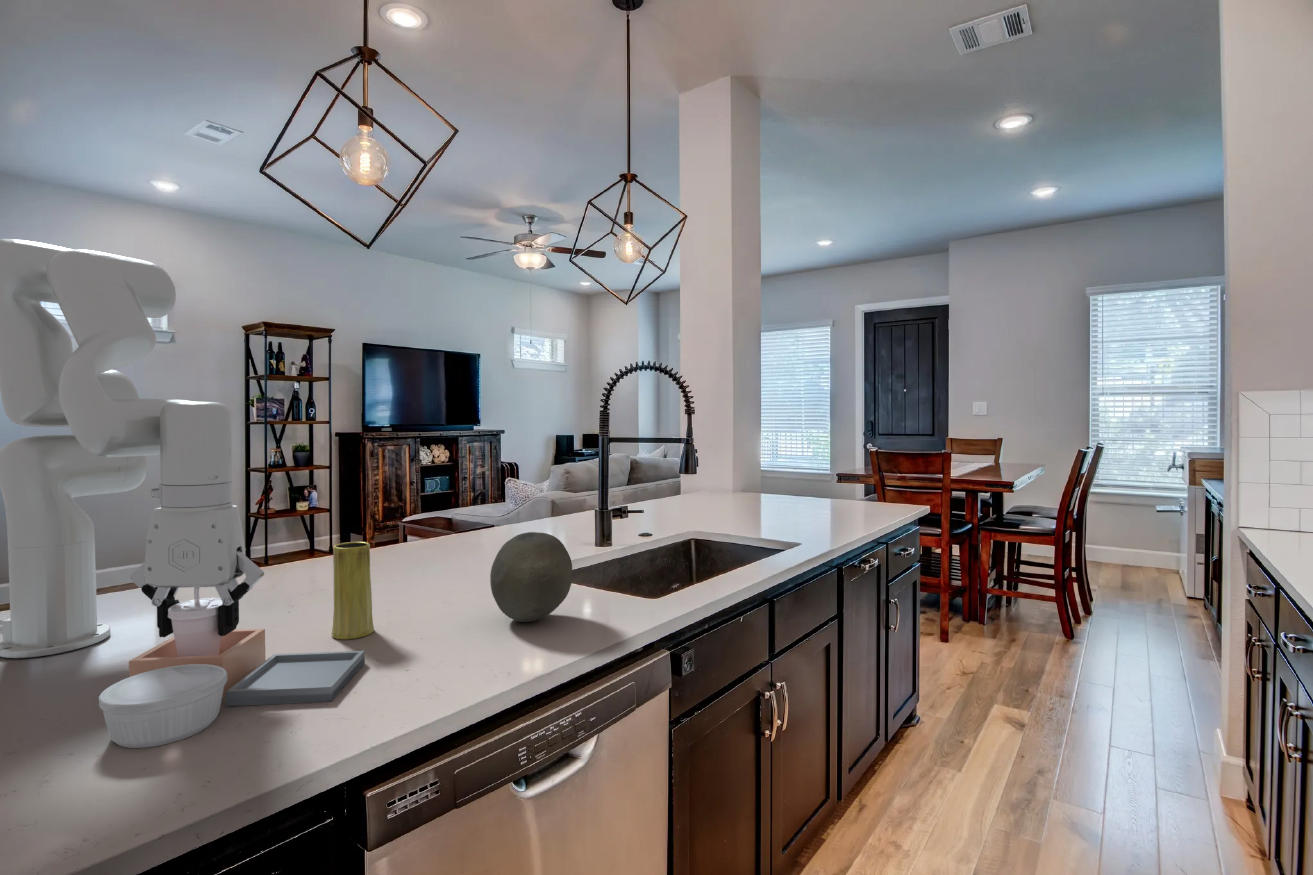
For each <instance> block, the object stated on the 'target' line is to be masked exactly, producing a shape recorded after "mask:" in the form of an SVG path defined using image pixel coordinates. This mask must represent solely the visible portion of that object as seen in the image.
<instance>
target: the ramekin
mask: <svg viewBox="0 0 1313 875" xmlns="http://www.w3.org/2000/svg"><path fill="white" fill-rule="evenodd" d="M226 682H227V671H226V670H225V669H224V668H222V667H219V666H215V665H208V664H188V665H179V666H171V667H165V668H160V669H156V670H151V671H147V672H144V673H140V674H137V675H134V676H131V677H129V676H128V677H127V678H124V679H121V680H120V681H117V682H115V683H113V684H112V685H110V686H108V687H107V688H106V689H104V690H102V692H101V693H100V695H99V696H98V706H99V708H100V710H102V713H103V717H104V721H105V725H106V729H107V732H108V735H109V738H110V739H111V740H112V742H114V743H116V745H118V746H119V747H125V748H130V749H141V748H152V747H159V746H164V745H168V744H171V743H175V742H178V741H181V740H184V739H186V738H189V737H190V738H191V737H192V736H194V735H196V734H198V733H200V732H202V731H203V730H205V729H207V728H208V727H209V726H211V724H212V723H213V722H214V721H215V719H217V718H218V715H219V712H220V710H221V704H222V699H223V697H222V695H223V689H224V685H225V684H226Z"/></svg>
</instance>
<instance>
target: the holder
mask: <svg viewBox="0 0 1313 875" xmlns="http://www.w3.org/2000/svg"><path fill="white" fill-rule="evenodd" d="M266 660H267V658H266V628H251V629H250V628H245V629H244V628H243V629H242V628H241V629H235V630H233V631H232V632H230V633H229V634H227V635H225V636H221V643H220V651H219V655H210V656H184V657H178V656H177V650H176V644H175V639H174V636H172V637H171V638H168V639H167V640H165V641H162V642H161V643H159V644H157V645H156V646H154V647H152V648H150V649H148V650H146V651H145V652H143V653H141V654H140V655H137V656H136V657H133V658H132V659H129V661H128V668H129V670H128V671H129V672H128V673H129V674H128V677H131V676H134V675H137V674H140V673H144V672H147V671H151V670H156V669H160V668H165V667H171V666H179V665H188V664H208V665H215V666H219V667H222V668H224V669H225V670H226V671H227V682H226V684H225V685H224V689H223V695H222V698H225V697H226V691H227V690H229V689H230V688H231V687H232V686H234V685H235V684H236V683H238V682H239V681H240V680H241V679H243V678H244V677H245V676H247V675H248V674H249V673H250V672H252V671H253V670H254V669H255V668H257V667H258V666H259V665H261V664H262V663H263V662H264V661H266Z"/></svg>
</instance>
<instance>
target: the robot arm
mask: <svg viewBox="0 0 1313 875" xmlns="http://www.w3.org/2000/svg"><path fill="white" fill-rule="evenodd" d="M176 298H177V291H176V287H175V284H174V281H173V280H172V278H171V276H170V275H169V274H168V272H167V271H166V270H165V269H164V268H163V267H161V266H160V265H158V264H156V263H154V262H150V261H147V260H143V259H137V258H133V257H128V256H123V255H117V254H112V253H107V252H103V251H102V252H101V251H98V250H96V251H95V250H90V249H72V248H66V247H63V246H57V245H53V244H48V243H44V242H37V241H30V240H24V239H13V238H0V398H1V402H2V406H3V410H4V412H5V415H6V416H7V418H8V419H9V420H10V422H13V423H14V424H17V425H19V426H24V427H33V428H70V430H71V432H72V434H51V435H49V434H48V435H35V436H34V435H33V436H28V437H27V436H25V437H22V438H18V439H15V440H13V441H10V442H9V443H7V444H5V445H4V446H3V447H2V448H1V449H0V491H1V495H2V499H3V500H2V501H3V504H4V510H5V517H6V530H7V553H8V554H7V556H8V557H7V558H8V580H9V581H8V584H9V613H10V614H9V615H10V617H0V634H1V635H2V641H0V658H7V659H26V658H27V659H28V658H38V657H44V656H51V655H57V654H62V653H67V652H70V651H75V650H79V649H83V648H85V647H89V646H91V645H95V644H97V643H100V642H101V641H104V640H105V639H107V638H108V637H109V636H110V635H111V632H112V631H111V626H110V625H108V624H106V623H102V622H101V623H100V622H98V610H97V609H98V607H97V606H98V605H97V575H96V574H97V572H96V571H97V570H96V565H97V564H96V538H95V537H96V536H95V534H96V533H95V525H94V522H93V521H92V518H91V517H90V515H89V514H88V513H86V512H85V510H83V509H82V507H80V506H79V505H78V503H77V502H75V500H74V498H78V497H85V496H96V495H97V496H98V495H106V494H115V493H117V494H118V493H123V492H129V491H132V490H135V489H136V488H138V487H139V486H141V484H142V483H144V481H145V479H146V476H147V473H148V472H147V471H148V456H159V458H160V461H159V462H160V465H159V467H160V468H159V469H160V470H159V471H160V472H159V473H160V474H159V475H160V484H159V485H158V487H152V488H151V490H150V497H151V498H153V499H159V504H160V507H157V508H154V509H153V510H152V514H151V517H150V521H149V525H148V529H147V530H148V531H147V534H146V535H147V537H146V543H145V544H146V545H145V554H144V555H145V556H144V562H143V563H141V565H140V566H139V567H138V568H137V569H135V570H134V571H133V572H132V573H131V574H130V575H129V580H130V581H132V583H133V584H135V585H136V586H137V587H138V588H140V589H141V592H142V594H144V595H145V596H146V597H147V598H149V600H151V602H150V603H151V605H152V606H153V607H156V626H157V629H158V636H159V638H166V637H168V636H169V635H172V634H174V633H173V627H172V621H171V619H170V618H168V609H169V608H170V607H171V606H173V605H175V604H178V603H181V602H180V601H179V600H180V599H176V595H177V594H178V591H179V589H180V588H194V587H199V588H213V587H214V588H215V590H216V592H217V594H218V596H219V598H221V600H222V605H220V606H219V607H218V635H220V636H225V635H227V634H229V633H230V632H232V631H233V630H237V626H238V625H239V623H240V600H242V598H243V597H244V596H245V595H246V594H247V593H248V592H249V591H250V590H251V589H253V587H254V586H255V585H256V584H257V583H258V582H259V581H261V579H262V578H263V577H264V576H265V571H264V570H263V569H261V568H260V567H259V566H258V565H257V564H256V563H254V561H252V560H251V559H250V558H249V557H248V556H246V547H245V546H246V545H245V537H244V529H243V524H242V519H241V515H240V512H239V507H238V505H235V504H233V482H232V479H233V475H232V474H233V472H232V471H233V469H232V464H233V463H232V462H233V460H232V458H233V457H232V456H233V454H232V452H233V451H232V449H233V447H232V444H233V443H232V441H233V440H232V439H233V438H232V435H233V434H232V432H233V431H232V412H231V410H230V408H229V406H227V405H226V404H224V403H221V402H216V401H194V400H187V399H173V398H172V399H171V398H170V399H168V398H141V397H139V393H138V390H137V388H136V386H135V384H134V383H133V381H132V380H131V378H129V377H128V376H127V375H126V374H124V373H123V372H121V371H119V370H116V369H118V368H122V367H126V366H128V365H131V364H134V363H135V362H139V361H141V360H142V359H144V358H146V357H147V356H148V355H149V354H151V352H152V351H153V350H154V348H155V346H156V344H157V335H156V333H155V330H154V329H153V327H152V325H151V323H150V321H149V319H148V318H151V319H159V318H163V317H165V316H167V315H168V314H170V312H171V311H172V310H174V308H175V303H176V300H177V299H176ZM41 302H46V303H52V304H57V305H58V306H59V309H60V310H61V313H62V314H63V316H64V317H63V318H64V319H65V321H66V323H67V326H68V327H69V329H70V331H71V334H72V335H73V338H74V340H75V342H76V344H77V345H78V346H77V348H76V349H75V350H73V341H72V338H71V335H70V334H69V332H68V330H67V329H66V328H65V326H64V325H63V324H62V323H61V322H60V321H59V319H58V318H56V317H55V316H54V314H52V313H51V312H50V311H48V310H47V309H46V308H45V307H44V306H42V305H41V304H40V303H41ZM243 575H245V578H244V579H243V581H242V582H241V583H239V582H238V580H237V579H238V578H240V577H242V576H243Z"/></svg>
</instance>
